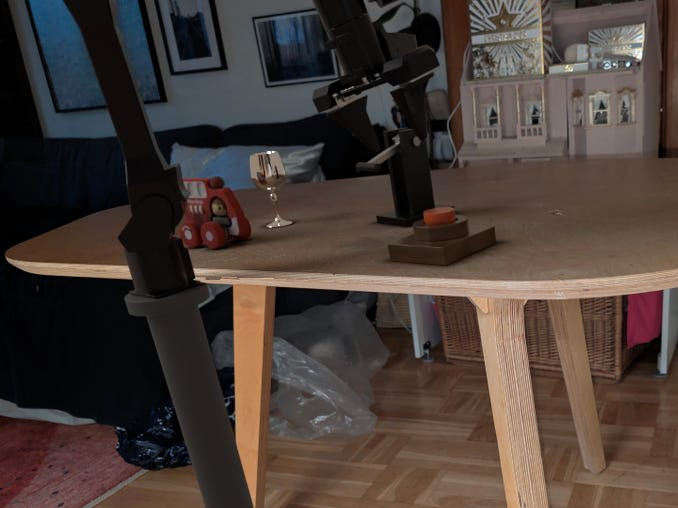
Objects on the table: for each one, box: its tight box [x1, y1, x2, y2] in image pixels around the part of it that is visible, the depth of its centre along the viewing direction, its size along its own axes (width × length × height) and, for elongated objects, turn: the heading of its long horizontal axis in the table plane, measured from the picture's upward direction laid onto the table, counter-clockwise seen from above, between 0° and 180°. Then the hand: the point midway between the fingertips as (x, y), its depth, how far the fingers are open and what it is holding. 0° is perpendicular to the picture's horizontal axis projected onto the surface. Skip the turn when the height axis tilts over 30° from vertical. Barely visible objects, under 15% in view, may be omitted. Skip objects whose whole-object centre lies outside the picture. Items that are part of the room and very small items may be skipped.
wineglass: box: [249, 150, 293, 228], centre depth 119 cm, size 6×6×12 cm
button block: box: [387, 214, 497, 266], centre depth 90 cm, size 11×9×4 cm
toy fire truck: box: [179, 175, 252, 250], centre depth 110 cm, size 7×12×10 cm, turn 60°
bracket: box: [375, 127, 456, 228], centre depth 111 cm, size 10×8×14 cm
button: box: [423, 207, 456, 225], centre depth 89 cm, size 4×4×2 cm
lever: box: [355, 134, 401, 172], centre depth 108 cm, size 10×5×2 cm, turn 133°
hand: (400, 145), depth 92 cm, fingers open, 9 cm apart
